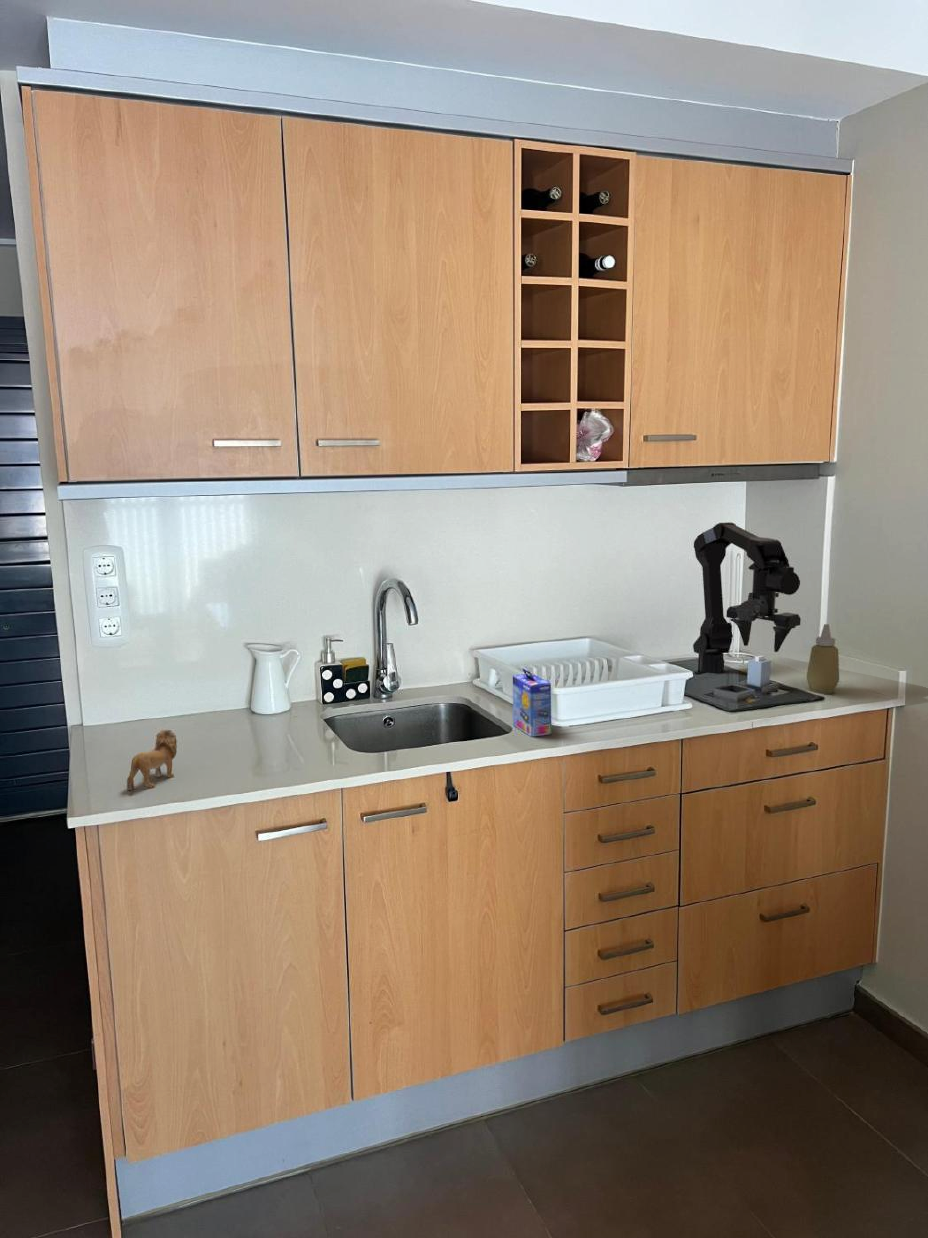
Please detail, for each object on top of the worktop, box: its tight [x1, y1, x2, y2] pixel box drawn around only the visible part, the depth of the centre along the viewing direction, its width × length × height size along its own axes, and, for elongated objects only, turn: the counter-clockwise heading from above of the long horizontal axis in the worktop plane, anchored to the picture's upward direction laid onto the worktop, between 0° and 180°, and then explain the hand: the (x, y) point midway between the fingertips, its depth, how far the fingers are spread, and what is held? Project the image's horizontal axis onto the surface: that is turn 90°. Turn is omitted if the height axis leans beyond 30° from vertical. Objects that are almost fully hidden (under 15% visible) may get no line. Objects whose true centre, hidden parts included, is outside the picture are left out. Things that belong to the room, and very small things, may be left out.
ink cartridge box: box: [512, 667, 552, 738], centre depth 215 cm, size 10×6×14 cm, turn 23°
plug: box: [746, 655, 772, 686], centre depth 245 cm, size 4×4×9 cm
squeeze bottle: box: [806, 623, 840, 695], centre depth 246 cm, size 8×8×18 cm
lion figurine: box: [126, 728, 178, 793], centre depth 184 cm, size 15×5×9 cm, turn 167°
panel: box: [702, 679, 789, 706], centre depth 242 cm, size 12×20×3 cm, turn 127°
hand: (760, 648), depth 243 cm, fingers open, 9 cm apart
